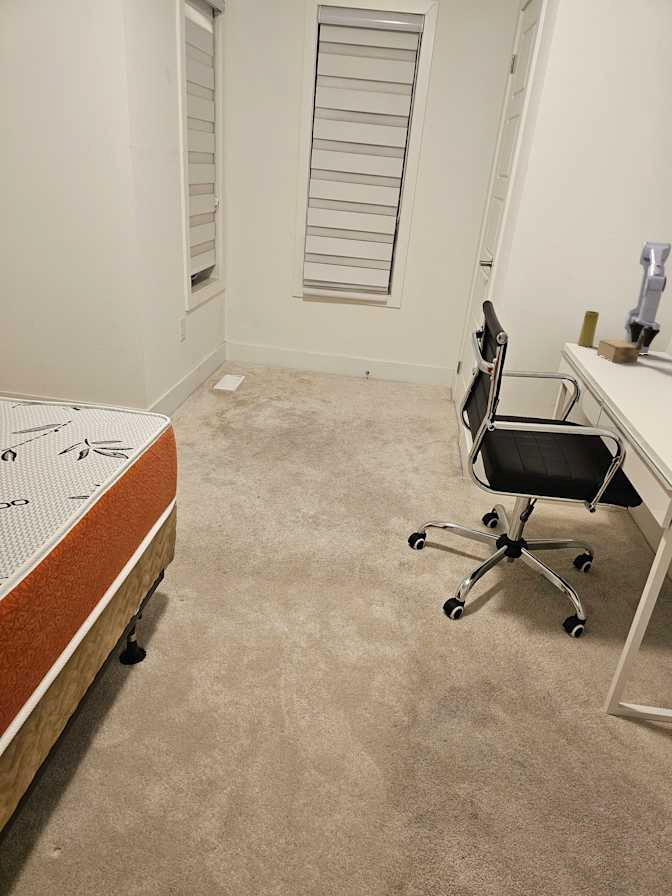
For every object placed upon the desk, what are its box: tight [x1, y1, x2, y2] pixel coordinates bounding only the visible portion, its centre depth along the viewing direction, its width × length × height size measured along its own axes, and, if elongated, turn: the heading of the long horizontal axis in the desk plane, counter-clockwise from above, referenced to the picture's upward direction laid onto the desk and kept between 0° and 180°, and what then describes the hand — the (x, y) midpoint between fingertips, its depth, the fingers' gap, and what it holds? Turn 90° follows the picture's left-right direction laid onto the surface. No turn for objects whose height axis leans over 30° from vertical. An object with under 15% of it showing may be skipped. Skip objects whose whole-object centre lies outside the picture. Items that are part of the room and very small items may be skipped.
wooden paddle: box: [612, 335, 644, 363], centre depth 234 cm, size 10×2×11 cm, turn 99°
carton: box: [596, 339, 637, 362], centre depth 241 cm, size 10×11×6 cm
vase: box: [577, 310, 600, 347], centre depth 259 cm, size 6×6×14 cm
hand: (639, 344), depth 234 cm, fingers open, 7 cm apart
